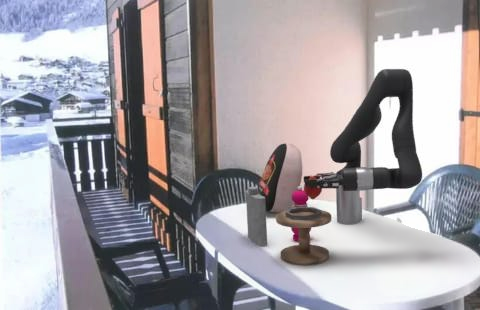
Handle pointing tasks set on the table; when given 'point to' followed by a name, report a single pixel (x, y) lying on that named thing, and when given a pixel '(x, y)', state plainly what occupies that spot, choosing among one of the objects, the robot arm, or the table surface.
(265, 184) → the packaged food
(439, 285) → the table surface
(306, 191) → the onion
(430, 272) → the table surface
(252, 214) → the hip flask
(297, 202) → the pepper mill
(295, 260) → the ring stand
